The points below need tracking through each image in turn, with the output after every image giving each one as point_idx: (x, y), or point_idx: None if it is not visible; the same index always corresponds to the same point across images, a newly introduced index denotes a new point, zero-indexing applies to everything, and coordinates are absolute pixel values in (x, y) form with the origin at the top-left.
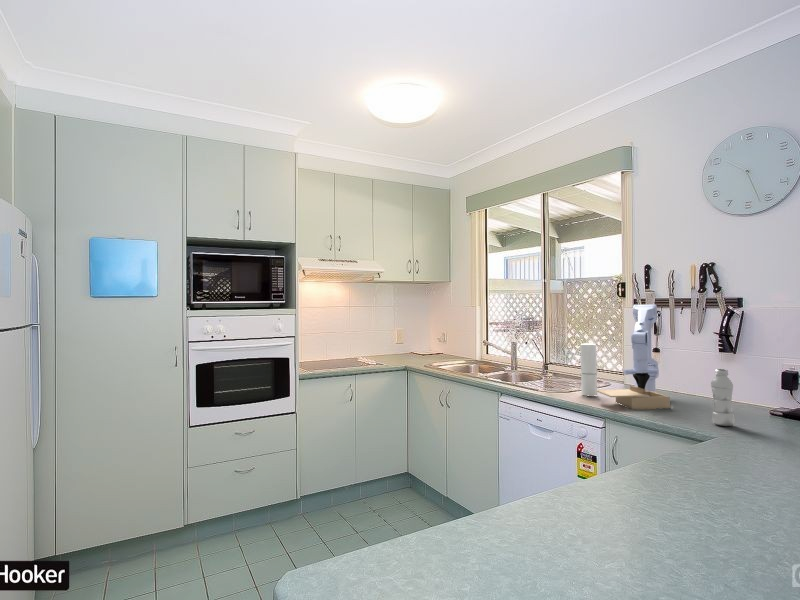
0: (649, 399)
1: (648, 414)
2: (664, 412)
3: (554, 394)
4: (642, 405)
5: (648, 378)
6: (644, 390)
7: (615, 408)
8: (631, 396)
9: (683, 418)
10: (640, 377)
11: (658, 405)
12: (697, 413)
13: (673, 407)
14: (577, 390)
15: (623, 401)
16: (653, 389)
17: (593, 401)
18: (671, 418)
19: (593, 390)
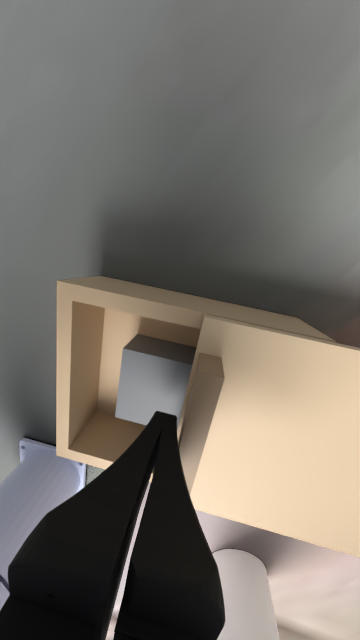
0: (200, 308)
1: (318, 181)
2: (186, 206)
3: (352, 626)
4: (243, 309)
5: (73, 499)
6: (208, 368)
7: None
8: (345, 346)
9: (203, 3)
10: (193, 557)
11: (151, 289)
12: (36, 133)
13: None
14: None
15: None
16: (10, 485)
17: None
18: (278, 21)
19: (244, 589)
